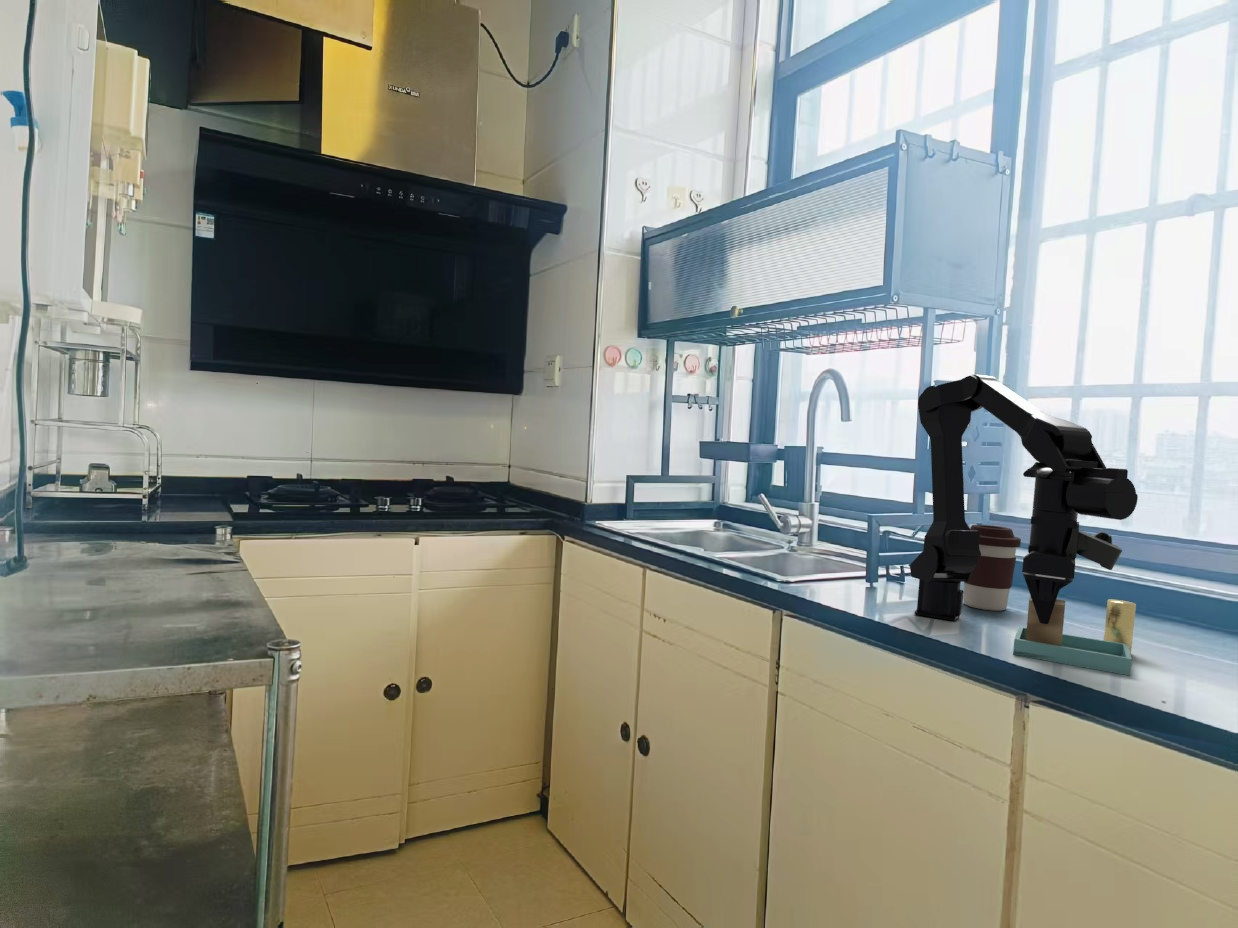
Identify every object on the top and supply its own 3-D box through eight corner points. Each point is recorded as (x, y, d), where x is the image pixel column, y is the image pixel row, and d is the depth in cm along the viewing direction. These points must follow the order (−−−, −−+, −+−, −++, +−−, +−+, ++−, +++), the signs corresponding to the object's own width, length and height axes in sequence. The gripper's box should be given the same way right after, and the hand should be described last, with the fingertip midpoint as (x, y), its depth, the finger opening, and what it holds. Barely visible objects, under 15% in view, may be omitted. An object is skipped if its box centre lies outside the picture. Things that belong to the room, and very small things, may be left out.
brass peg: (1103, 651, 116) (1108, 601, 116) (1102, 646, 119) (1107, 598, 119) (1131, 656, 114) (1137, 606, 114) (1130, 651, 117) (1135, 602, 117)
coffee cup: (964, 598, 152) (970, 522, 151) (1020, 608, 146) (1027, 528, 145) (949, 605, 144) (955, 524, 144) (1007, 615, 138) (1014, 531, 137)
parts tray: (1013, 654, 111) (1014, 639, 111) (1017, 640, 119) (1019, 626, 119) (1130, 675, 104) (1131, 659, 104) (1126, 659, 112) (1127, 644, 112)
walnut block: (1024, 648, 112) (1029, 600, 112) (1026, 641, 116) (1030, 595, 116) (1060, 654, 110) (1064, 605, 110) (1061, 647, 114) (1065, 600, 114)
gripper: (1124, 521, 100) (1113, 641, 101) (1118, 513, 116) (1108, 617, 117) (1027, 512, 106) (1017, 625, 107) (1034, 505, 122) (1025, 604, 123)
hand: (1045, 617), depth 113 cm, fingers open, 9 cm apart
